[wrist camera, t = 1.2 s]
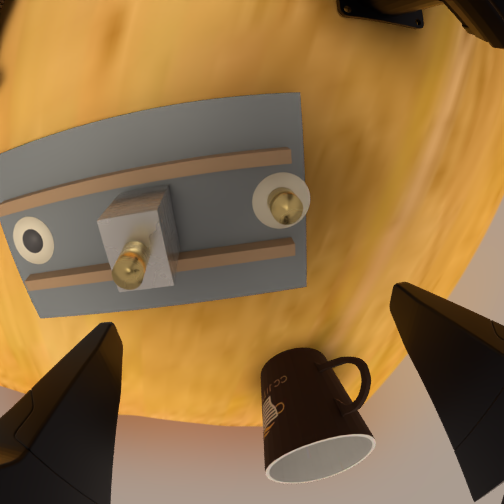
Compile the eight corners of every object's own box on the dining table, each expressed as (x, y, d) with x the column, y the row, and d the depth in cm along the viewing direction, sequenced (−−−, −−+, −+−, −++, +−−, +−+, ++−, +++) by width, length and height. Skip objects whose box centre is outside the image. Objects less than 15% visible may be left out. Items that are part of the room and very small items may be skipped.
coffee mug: (289, 407, 31) (311, 487, 22) (229, 378, 27) (240, 475, 19) (377, 342, 28) (423, 422, 19) (327, 299, 25) (378, 396, 16)
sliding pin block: (168, 184, 17) (149, 227, 12) (180, 246, 19) (170, 309, 14) (119, 193, 17) (82, 238, 12) (134, 253, 19) (110, 316, 13)
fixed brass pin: (295, 185, 19) (302, 193, 17) (296, 213, 20) (303, 222, 18) (265, 188, 19) (270, 196, 17) (268, 216, 19) (272, 226, 18)
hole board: (299, 92, 17) (310, 91, 15) (305, 277, 23) (314, 293, 21) (-7, 156, 16) (-24, 164, 14) (45, 309, 22) (35, 326, 20)
